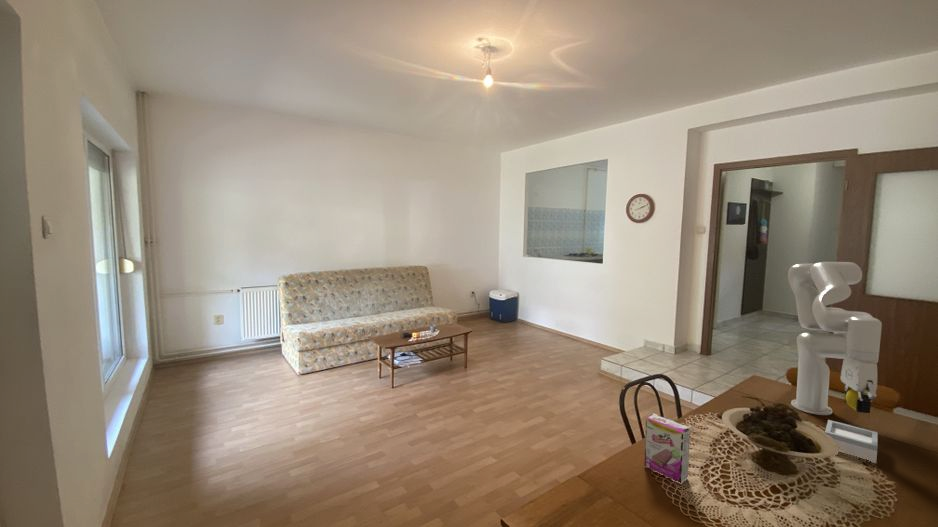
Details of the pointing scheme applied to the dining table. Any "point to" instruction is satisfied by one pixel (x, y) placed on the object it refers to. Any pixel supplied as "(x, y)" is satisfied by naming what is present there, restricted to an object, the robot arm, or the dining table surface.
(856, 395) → the lemon
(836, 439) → the tray
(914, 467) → the dining table surface
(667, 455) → the candy bar box
